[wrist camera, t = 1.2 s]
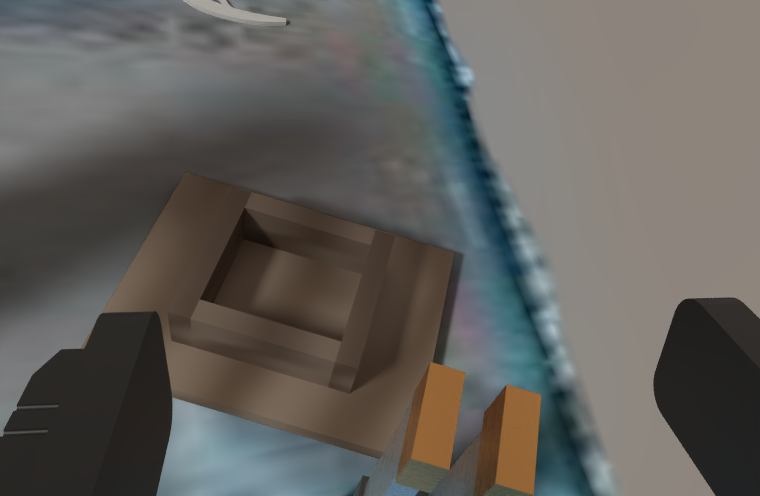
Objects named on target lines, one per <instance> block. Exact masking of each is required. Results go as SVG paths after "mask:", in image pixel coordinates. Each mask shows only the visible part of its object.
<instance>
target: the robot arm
mask: <svg viewBox="0 0 760 496" xmlns="http://www.w3.org/2000/svg"><path fill="white" fill-rule="evenodd" d="M654 395H655V400H656V403H657V406H658V408H659V410H660V412H661V414H662V416H663V417H664V418H665V420H666V422H667V423H668V425H669V426H670V428H671V429H672V431H673V432H674V434H675V435H676V437H677V438H678V440H679V441H680V443H681V444H682V446H683V447H684V448H685V450H686V452H687V453H688V454H689V456H690V458H691V459H692V461H693V462H694V464H695V465H696V467H697V468H698V470H699V471H700V473H701V474H702V476H703V477H704V479H705V480H706V482H707V483H708V485H709V486H710V488H711V489H712V491H713V492H714V494H715V495H716V496H760V319H759V318H758V317H757V316H756V315H755V314H754V313H753V312H752V311H751V310H750V309H749V308H748V307H747V306H746V305H745V304H744V303H743V302H741V301H740V300H738V299H736V298H698V299H697V298H696V299H685V300H683V301H682V302H681V303H680V304H679V305H678V307H677V309H676V311H675V313H674V317H673V319H672V322H671V325H670V329H669V331H668V335H667V338H666V341H665V344H664V347H663V350H662V353H661V356H660V359H659V362H658V365H657V368H656V371H655V374H654ZM171 424H172V391H171V384H170V378H169V371H168V365H167V358H166V352H165V345H164V339H163V332H162V326H161V321H160V317H159V314H158V313H157V312H156V311H149V312H110V313H102V314H100V316H99V317H98V319H97V321H96V323H95V326H94V328H93V330H92V332H91V335H90V337H89V339H88V341H87V344H86V346H85V348H84V349H61V350H60V351H59V352H58V353H57V354H56V355H54V356H53V357H52V358H51V359H50V360H49V361H48V362H47V363H45V364H44V365H43V366H42V367H41V368H40V369H39V370H38V371H36V372H35V373H34V374H33V375H32V377H31V379H30V381H29V382H28V384H27V386H26V388H25V390H24V392H23V394H22V396H21V398H20V400H19V402H18V403H17V410H16V411H13V413H12V415H11V417H10V419H9V421H8V423H7V424H6V426H5V428H4V435H3V437H0V496H156V494H157V489H158V485H159V481H160V476H161V472H162V467H163V463H164V459H165V454H166V450H167V445H168V441H169V437H170V431H171Z"/></svg>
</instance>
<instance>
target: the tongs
mask: <svg viewBox="0 0 760 496" xmlns="http://www.w3.org/2000/svg"><path fill="white" fill-rule="evenodd" d="M464 377H465V372H463V371H459V370H456V369H453V368H449V367H446V366H443V365H439V364H436V363H433V362H430V364H429V366H428V368H427V369H426V371H425V373H424V375H423V377H422V379H421V381H420V382H419V384H418V386H417V388H416V390H415V392H414V396H413V399H412V401H411V403H410V404H409V406H408V408H407V410H406V412H405V414H404V415H403V417H402V419H401V421H400V423H399V425H398V426H397V428H396V430H395V432H394V434H393V436H392V437H391V439H390V441H389V443H388V445H387V447H386V448H385V450H384V452H383V454H382V456H381V458H380V459H379V461H378V463H377V465H376V467H375V469H374V470H373V472H372V474H371V476H370V477H367V476H362V478H361V480H360V482H359V484H358V486H357V488H356V490H355V492H354V494H353V496H533V495H534V482H535V470H536V457H537V444H538V431H539V418H540V405H541V395H540V394H537V393H533V392H530V391H526V390H523V389H520V388H516V387H513V386H510V385H506V386H505V387H504V389H503V390H502V391H501V392H500V394H499V395H498V396H497V397H496V399H495V400H494V401H493V403H492V404H491V405H490V406H489V408H488V409H487V410H486V411H485V413H484V419H483V427H482V431H481V432H480V433H479V435H478V436H477V437H476V438H475V439H474V441H473V442H472V443H471V444H470V445H469V447H468V448H467V449H466V450H465V451H464V453H463V454H462V455H461V456H460V457H459V459H458V460H457V461H456V462H455V463H454V465H453V466H452V467H451V468H450V463H451V457H452V451H453V445H454V439H455V432H456V426H457V420H458V414H459V408H460V401H461V395H462V389H463V383H464ZM419 490H420V491H424V492H427V493H430V494H429V495H427V494H424V493H421V492H419ZM333 496H338V495H335V494H334V495H333Z"/></svg>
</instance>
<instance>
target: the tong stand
mask: <svg viewBox="0 0 760 496" xmlns="http://www.w3.org/2000/svg"><path fill="white" fill-rule="evenodd" d="M454 253H455V252H451V251H448V250H445V249H441V248H438V247H435V246H431V245H428V244H425V243H421V242H418V241H415V240H411V239H408V238H405V237H401V236H398V235H395V234H391V233H388V232H385V231H381V230H378V229H375V228H371V227H368V226H365V225H361V224H358V223H355V222H351V221H348V220H345V219H341V218H338V217H335V216H331V215H328V214H325V213H321V212H318V211H315V210H311V209H308V208H305V207H301V206H298V205H295V204H291V203H288V202H285V201H281V200H278V199H275V198H271V197H268V196H265V195H261V194H258V193H255V192H251V191H248V190H245V189H241V188H238V187H235V186H231V185H228V184H225V183H221V182H218V181H215V180H211V179H208V178H205V177H201V176H198V175H195V174H191V173H188V172H185V174H184V175H183V177H182V179H181V180H180V182H179V184H178V185H177V187H176V189H175V190H174V192H173V194H172V195H171V197H170V199H169V200H168V202H167V204H166V206H165V207H164V209H163V211H162V212H161V214H160V216H159V217H158V219H157V221H156V222H155V224H154V226H153V227H152V229H151V231H150V232H149V234H148V236H147V238H146V239H145V241H144V243H143V244H142V246H141V248H140V249H139V251H138V253H137V254H136V256H135V258H134V259H133V261H132V263H131V265H130V266H129V268H128V270H127V271H126V273H125V275H124V276H123V278H122V280H121V281H120V283H119V285H118V286H117V288H116V290H115V291H114V293H113V295H112V297H111V298H110V300H109V302H108V303H107V305H106V307H105V308H104V310H103V312H102V313H110V312H149V311H156V312H157V313H158V314H159V317H160V321H161V326H162V332H163V339H164V345H165V352H166V358H167V365H168V371H169V378H170V384H171V391H172V397H174V398H177V399H180V400H184V401H187V402H190V403H194V404H197V405H200V406H204V407H207V408H211V409H214V410H217V411H221V412H224V413H227V414H231V415H234V416H237V417H241V418H244V419H248V420H251V421H254V422H258V423H261V424H264V425H268V426H271V427H274V428H278V429H281V430H285V431H288V432H291V433H295V434H298V435H301V436H305V437H308V438H311V439H315V440H318V441H321V442H325V443H328V444H332V445H335V446H338V447H342V448H345V449H348V450H352V451H355V452H358V453H362V454H365V455H369V456H372V457H375V458H379V459H380V458H381V456H382V454H383V452H384V450H385V448H386V447H387V445H388V443H389V441H390V439H391V437H392V436H393V434H394V432H395V430H396V428H397V426H398V425H399V423H400V421H401V419H402V417H403V415H404V414H405V412H406V410H407V408H408V406H409V404H410V403H411V401H412V399H413V396H414V392H415V390H416V388H417V386H418V384H419V382H420V381H421V379H422V377H423V375H424V373H425V371H426V369H427V368H428V366H429V364H430V362H433V358H434V353H435V348H436V343H437V338H438V333H439V328H440V323H441V318H442V313H443V308H444V303H445V298H446V293H447V288H448V283H449V278H450V273H451V268H452V263H453V258H454ZM102 313H101V314H102ZM94 326H95V325H94ZM93 328H94V327H93ZM92 330H93V329H92ZM92 330H91V332H92ZM91 332H90V334H89V335H88V337H87V339H86V340H85V342H84V344H83V345H82V347H81V349H84V348H85V346H86V344H87V341H88V339H89V337H90V335H91Z"/></svg>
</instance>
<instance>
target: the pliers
mask: <svg viewBox="0 0 760 496" xmlns="http://www.w3.org/2000/svg"><path fill="white" fill-rule="evenodd" d="M183 1H185V2H186V3H188V4H189V5H190V6H192V7H194V8H196V9H198V10H200V11H202V12H205V13H207V14H210V15H213V16H216V17H219V18H223V19H227V20H231V21H235V22H240V23H246V24H254V25H265V26H286V18H280V17H273V16H267V15H262V14H256V13H251V12H247V11H243V10H239V9H235V8H233V7H231V6H230V5H229V4H228V2H227V1H226V0H219V1H220V2H221V4H219V3H217V2H214V1H212V0H183Z"/></svg>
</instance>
